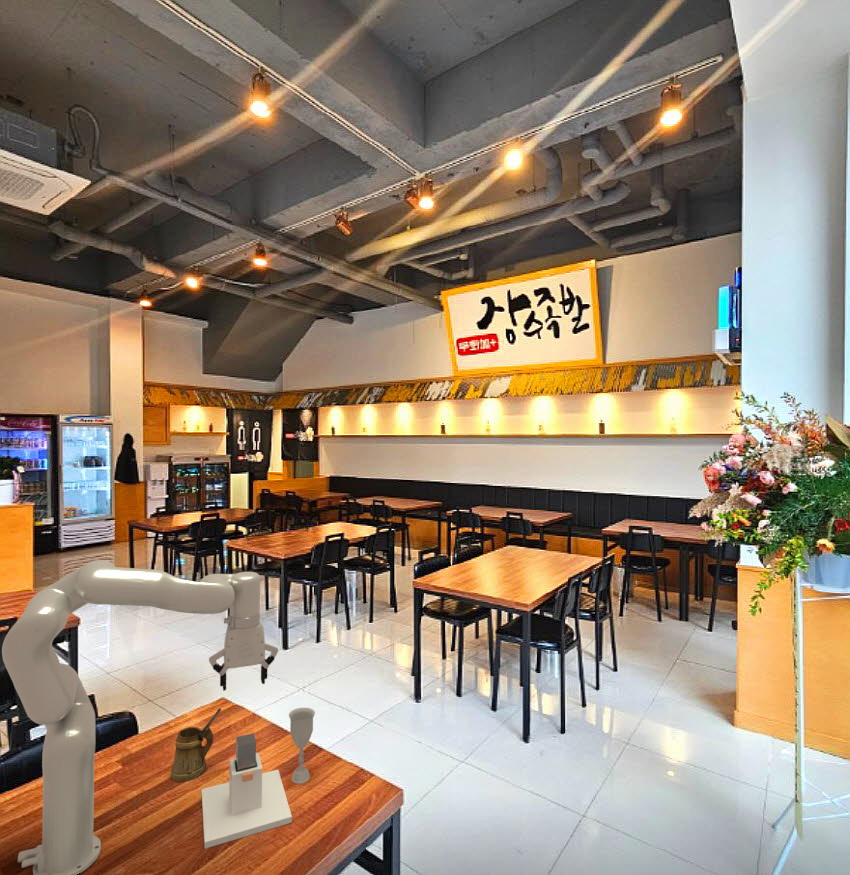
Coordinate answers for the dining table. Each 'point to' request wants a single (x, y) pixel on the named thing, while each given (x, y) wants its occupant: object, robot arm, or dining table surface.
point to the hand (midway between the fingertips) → (243, 684)
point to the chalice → (301, 738)
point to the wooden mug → (192, 751)
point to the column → (245, 752)
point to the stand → (244, 805)
